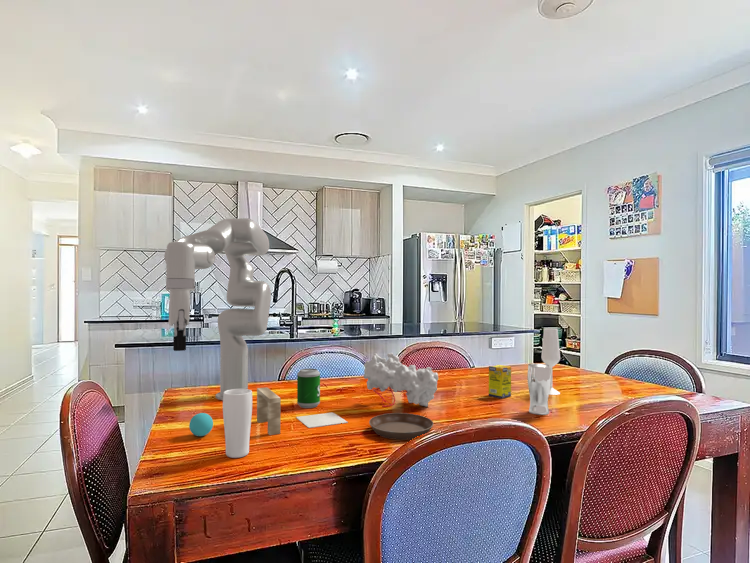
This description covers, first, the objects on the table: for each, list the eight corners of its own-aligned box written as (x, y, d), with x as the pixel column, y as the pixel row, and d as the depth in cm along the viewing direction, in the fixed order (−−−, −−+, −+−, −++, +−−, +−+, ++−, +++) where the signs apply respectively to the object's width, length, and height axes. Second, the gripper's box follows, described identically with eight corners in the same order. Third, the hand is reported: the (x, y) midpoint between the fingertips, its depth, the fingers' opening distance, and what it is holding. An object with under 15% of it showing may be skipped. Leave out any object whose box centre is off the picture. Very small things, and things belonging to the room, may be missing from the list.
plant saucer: (444, 439, 127) (444, 427, 127) (379, 445, 122) (379, 433, 122) (419, 421, 144) (419, 411, 144) (361, 426, 139) (361, 415, 139)
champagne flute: (563, 394, 178) (563, 329, 178) (544, 394, 178) (544, 329, 178) (556, 390, 185) (556, 328, 185) (538, 390, 185) (538, 327, 185)
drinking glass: (226, 450, 118) (226, 388, 118) (254, 449, 118) (254, 388, 118) (219, 460, 111) (219, 395, 111) (249, 459, 112) (249, 394, 112)
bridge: (269, 435, 130) (269, 399, 130) (256, 421, 143) (257, 388, 143) (280, 433, 131) (280, 397, 131) (267, 419, 144) (267, 387, 145)
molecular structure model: (394, 419, 172) (342, 385, 162) (417, 373, 178) (368, 337, 168) (428, 431, 155) (372, 394, 145) (452, 380, 161) (400, 341, 151)
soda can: (315, 409, 157) (315, 372, 157) (293, 408, 158) (293, 371, 158) (322, 403, 164) (322, 368, 164) (301, 402, 166) (301, 367, 166)
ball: (188, 434, 130) (188, 411, 130) (211, 431, 133) (211, 409, 133) (190, 440, 125) (190, 417, 125) (214, 437, 128) (214, 414, 128)
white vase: (550, 410, 155) (550, 364, 155) (550, 416, 149) (550, 367, 149) (527, 408, 158) (527, 362, 158) (527, 414, 151) (527, 366, 151)
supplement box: (502, 398, 171) (502, 368, 171) (488, 396, 176) (488, 365, 176) (511, 396, 175) (511, 366, 175) (497, 393, 180) (497, 364, 180)
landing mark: (296, 417, 147) (296, 416, 147) (332, 413, 152) (332, 412, 152) (308, 428, 136) (308, 427, 136) (347, 422, 141) (347, 422, 141)
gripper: (164, 285, 142) (163, 348, 142) (167, 285, 129) (166, 354, 128) (191, 286, 145) (191, 347, 145) (197, 285, 132) (196, 352, 132)
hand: (179, 350), depth 137 cm, fingers closed
